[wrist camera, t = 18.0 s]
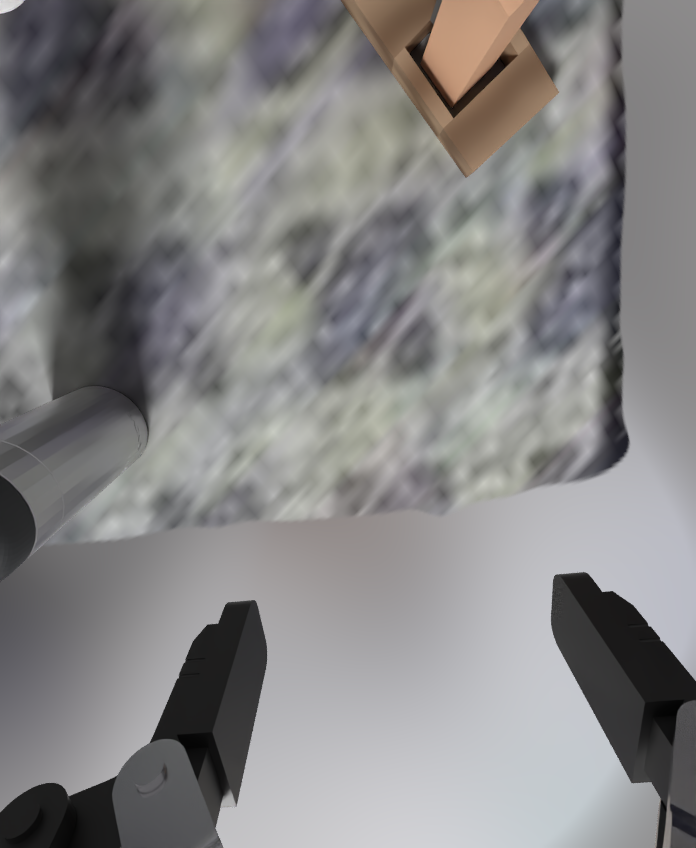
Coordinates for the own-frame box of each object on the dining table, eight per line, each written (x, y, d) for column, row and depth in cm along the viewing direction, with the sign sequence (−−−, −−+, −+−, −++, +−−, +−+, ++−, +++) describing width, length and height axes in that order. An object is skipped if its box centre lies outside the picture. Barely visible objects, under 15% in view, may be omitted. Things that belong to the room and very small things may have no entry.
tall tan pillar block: (491, 68, 35) (575, -52, 22) (451, 108, 36) (509, 17, 22) (455, 14, 34) (523, -147, 20) (415, 57, 34) (454, -71, 21)
